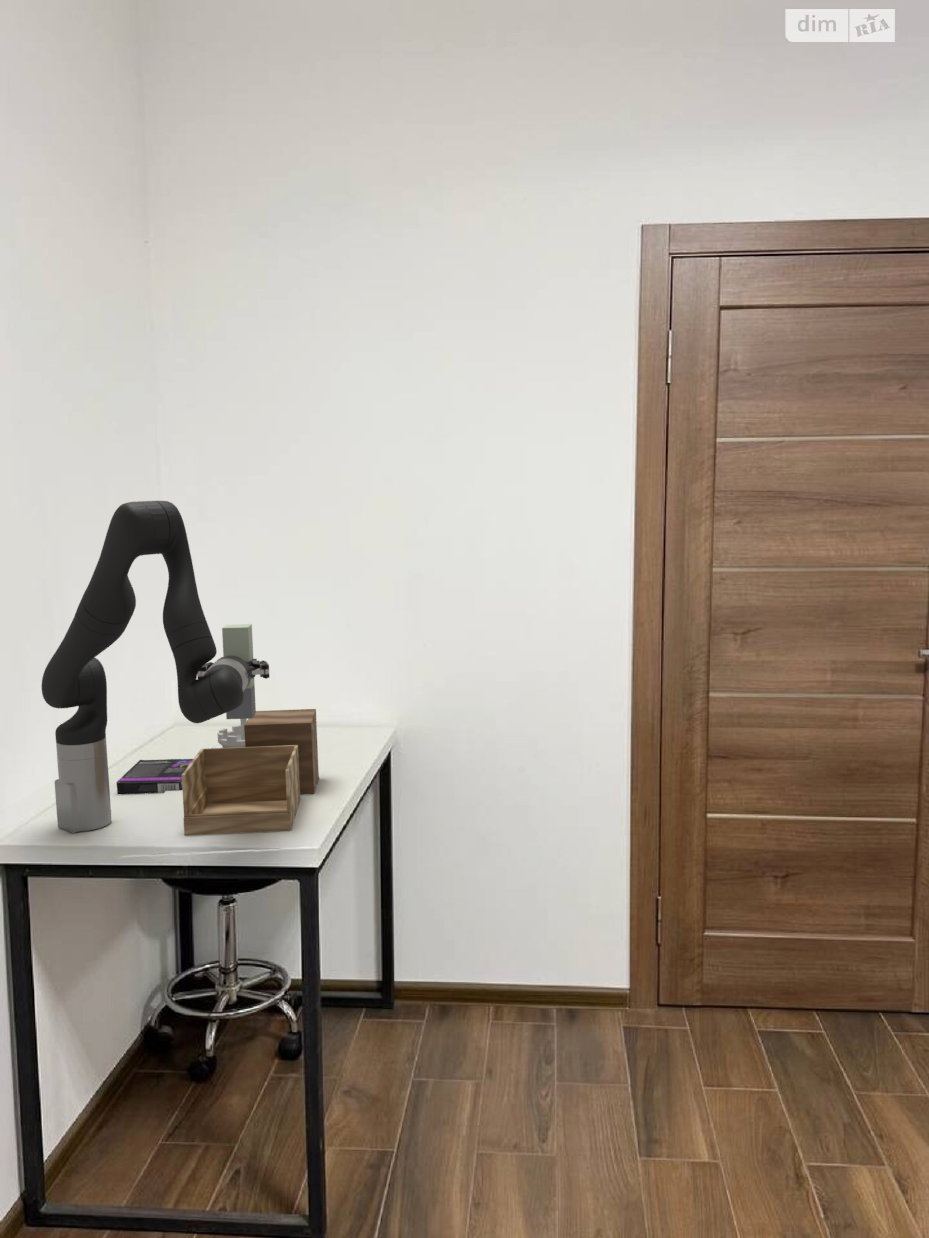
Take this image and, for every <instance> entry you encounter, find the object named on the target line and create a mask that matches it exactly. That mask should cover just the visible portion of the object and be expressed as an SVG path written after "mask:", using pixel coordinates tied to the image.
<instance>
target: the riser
mask: <svg viewBox="0 0 929 1238" xmlns="http://www.w3.org/2000/svg"><path fill="white" fill-rule="evenodd" d="M317 725H318V724H317V709H316V708H306V709H305V708H304V709H279V710H256V714H255V715H254V717H253V718H252V719H247V722H246V723H245V725H244V731H245V747H259V746H284V745H298V755H299V778H300V796H303V795H314V794H315V792H316V788H317V785H318V782H319V779H320V778H319V777H320V776H319V774H320V773H319V753H318V730H317V729H318V728H317V727H318V726H317Z"/></svg>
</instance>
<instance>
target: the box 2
mask: <svg viewBox="0 0 929 1238" xmlns="http://www.w3.org/2000/svg"><path fill="white" fill-rule="evenodd" d="M221 631H222V635H221V636H222V651H223V653H222V654H223V656H222V657H224V656H229V655H232V656H237V657H240V658H241V659H243V660H244V661H246V660H248V661H252V660H253V659H254V646H253V645H254V643H253V640H254V639H253V624H252V623H250V624H249V623H248V624H242V623H241V624H225V625H224V626H223V627H222V628H221ZM255 691H256V688H255V677H254V678H252V679H251V680H250V683H249V685H248V686H247V688H246V689H245V690H244V692H243V695H244V698H243V702H242V704H241V705H240V706H239V707H237V708H236V709H234V710H232V711H229V712H227V713H225V714H226V715H225V716H226V720H240V719H247V720H248V719H252V718H253V717H254V715H255V714H256V711H257V709H256V692H255Z"/></svg>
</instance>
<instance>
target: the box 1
mask: <svg viewBox="0 0 929 1238" xmlns="http://www.w3.org/2000/svg"><path fill="white" fill-rule="evenodd" d="M193 759H194V758H170V759H169V758H168V759H166V758H165V759H139V760H138V761H137V762H136V763H135V764H134V765H133V766H131V768H129V769H128V770H127V771H126V772H125V773H124V774H123V775H122V776H121V777H120V778H119V779H118V780H117V781H116V793H117V795H118V794H121V795H139V794H140V795H145V793H146V794H147V793H148V794H165V793H166V792H169V791H170V792H171V791H183V790H182V774H183V773H184V771H185V770H186V769H187V767H188V766H189V764H190V763H191V762H192V760H193ZM148 794H147V795H148Z"/></svg>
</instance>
